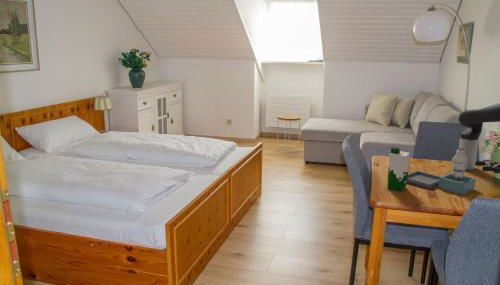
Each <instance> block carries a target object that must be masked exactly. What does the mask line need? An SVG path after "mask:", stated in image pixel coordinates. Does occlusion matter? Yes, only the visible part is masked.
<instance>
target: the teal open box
mask: <svg viewBox="0 0 500 285" xmlns="http://www.w3.org/2000/svg"><path fill="white" fill-rule="evenodd" d="M451 176H452V172H449V173H447V174H445V175H443V176H442V175H441V177H440V179H439V185H438V189H441V190H442V191H443V190H444V191H447V192H451V193H454V194H458V195H461V196H463V195H466V194H468V193H470V192H472V191H474V190H475V188H476V187H475V186H476V181H477V179H476V178H474V177H470V176H467V175H464V181H465V182H464V183H461V182H458V181H454V180H450V179H451Z"/></svg>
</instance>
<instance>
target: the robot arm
mask: <svg viewBox="0 0 500 285" xmlns="http://www.w3.org/2000/svg"><path fill="white" fill-rule="evenodd" d="M458 122H459V124H460V125H461V126H463V127H466V128H465V129H464V130H463V131H461V132H460V135H459V136H460V137H459V142H458V143H459V144H458V149H459V148H460V149H465V154H464V155H465V156H466V158H467V164H466V168H465V171H466V170H467V171H472V170H475V168H476V167H482V168H481V169H482V172H492V173H494V174H500V163H499V162H500V161H498V162H497V160H496V161H493V160H494V159H482V160H477V153H478V147H479V146H478V145H479V138H480V136H481V134H482V130H483V129H482V128H483V124H484V123H499V122H500V103H496V104H492V105H489V106H485V107H483V108H477V109H465V110H463V111H462V112H461V113H460V114H459V116H458Z"/></svg>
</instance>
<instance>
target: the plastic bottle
mask: <svg viewBox="0 0 500 285" xmlns="http://www.w3.org/2000/svg"><path fill="white" fill-rule="evenodd" d="M464 154H465V149H460V148H459V147H458V148H457V149H456V154H455V155H454V156H452V161H451V162H452V164H451V166H452V169H451V173H452V176H451V179H450V180H454V181H458V182H461V183H464V182H465V181H464V176H465V172H466V170H465V168H466V164H467V158H466V156H465V155H464Z"/></svg>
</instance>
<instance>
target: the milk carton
mask: <svg viewBox="0 0 500 285" xmlns="http://www.w3.org/2000/svg"><path fill="white" fill-rule="evenodd" d="M400 150H401V148H400V147H395V146H394V147H391V148H390V153H389V154H388V155H389V156H388V158H389V159H388V169H387V190H391V191H392V190H393V191H398V192H404V190H405V188H406V187H407V184H408V183H407V179H408V173H409V168H410V153H411V152H406V151H404V150H403V151H400Z"/></svg>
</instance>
